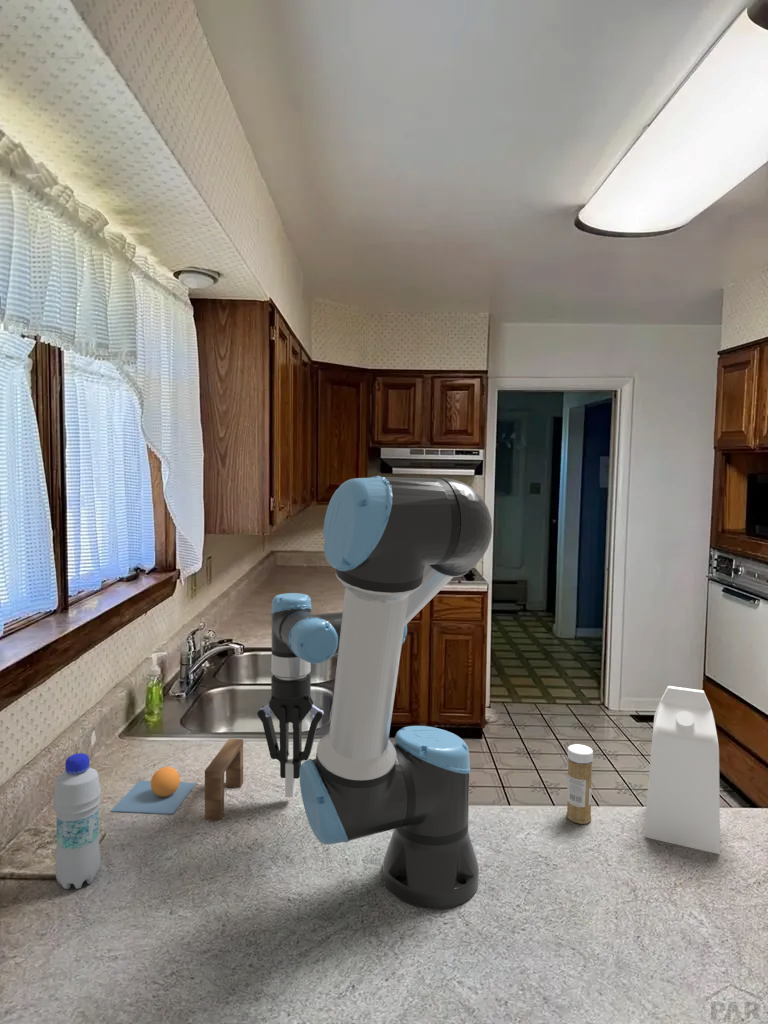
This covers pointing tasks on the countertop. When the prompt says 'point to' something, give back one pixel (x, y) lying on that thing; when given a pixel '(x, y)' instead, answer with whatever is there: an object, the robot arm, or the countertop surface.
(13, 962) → the countertop surface
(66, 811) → the bottle
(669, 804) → the milk
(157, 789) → the ball
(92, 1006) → the countertop surface
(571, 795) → the sprinkles bottle
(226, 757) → the bridge
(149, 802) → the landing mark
